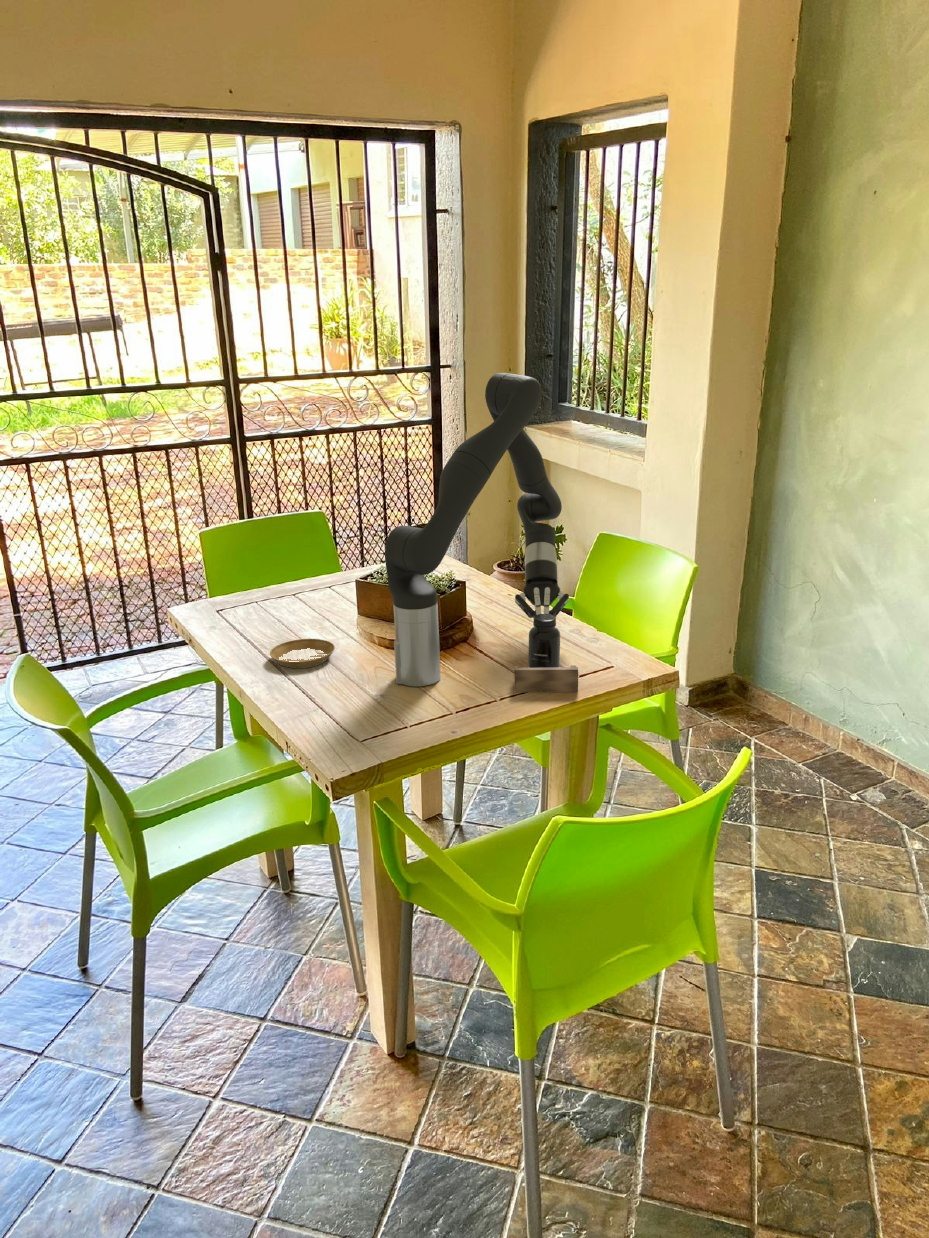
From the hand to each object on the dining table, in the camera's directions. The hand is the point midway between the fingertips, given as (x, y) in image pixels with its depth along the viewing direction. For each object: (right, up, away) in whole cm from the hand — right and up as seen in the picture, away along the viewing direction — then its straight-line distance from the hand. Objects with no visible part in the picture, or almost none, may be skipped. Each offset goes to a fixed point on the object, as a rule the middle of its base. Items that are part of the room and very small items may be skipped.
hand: (542, 633), depth 202 cm
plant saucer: (-55, -6, +4) cm, 55 cm away
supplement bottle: (0, -8, -6) cm, 10 cm away
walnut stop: (-1, -11, -15) cm, 18 cm away
